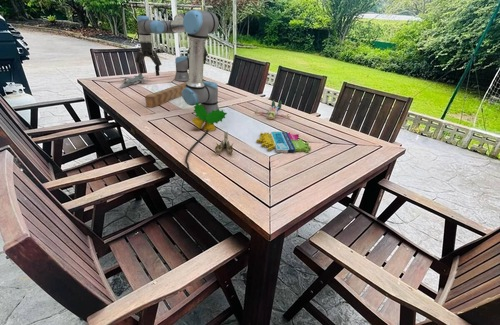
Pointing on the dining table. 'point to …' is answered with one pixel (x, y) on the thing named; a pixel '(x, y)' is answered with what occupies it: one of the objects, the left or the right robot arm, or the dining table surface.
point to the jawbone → (224, 145)
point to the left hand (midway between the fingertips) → (197, 63)
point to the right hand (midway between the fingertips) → (149, 74)
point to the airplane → (133, 80)
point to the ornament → (207, 117)
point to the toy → (273, 111)
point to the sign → (283, 142)
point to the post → (164, 95)
